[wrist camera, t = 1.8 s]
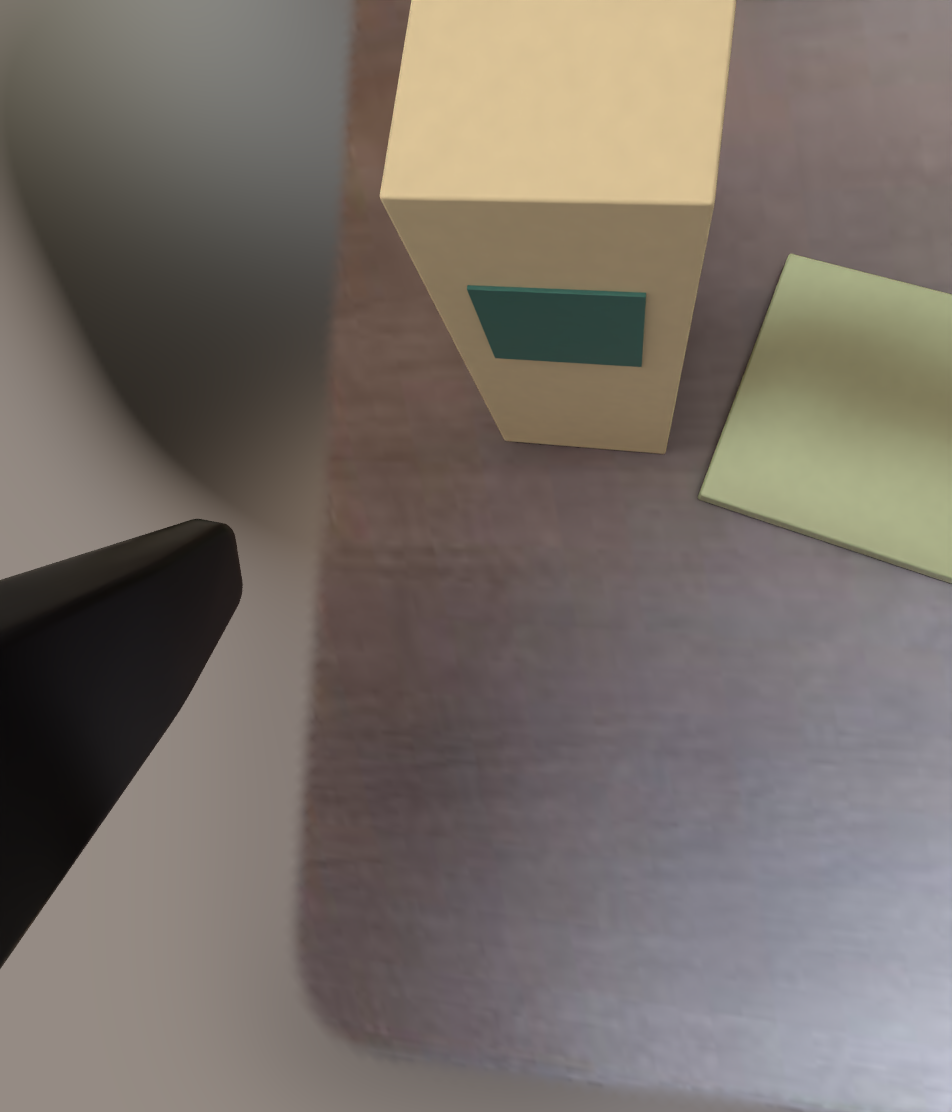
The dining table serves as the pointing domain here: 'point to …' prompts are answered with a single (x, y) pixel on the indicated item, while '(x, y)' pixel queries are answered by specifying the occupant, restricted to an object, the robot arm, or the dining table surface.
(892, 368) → the block line
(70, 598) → the robot arm
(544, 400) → the tall cream block
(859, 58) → the dining table surface
